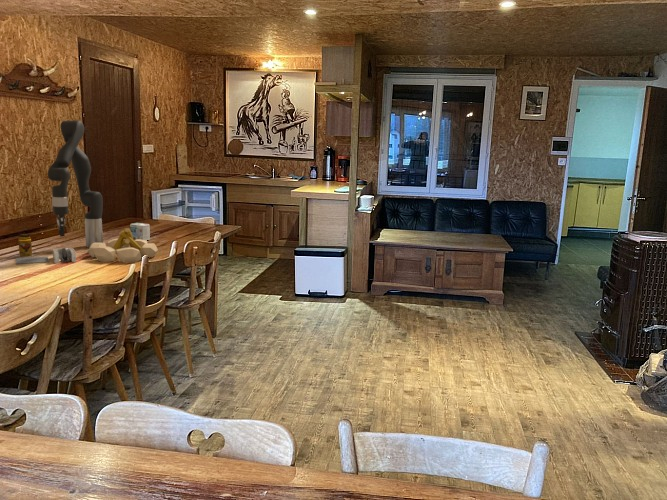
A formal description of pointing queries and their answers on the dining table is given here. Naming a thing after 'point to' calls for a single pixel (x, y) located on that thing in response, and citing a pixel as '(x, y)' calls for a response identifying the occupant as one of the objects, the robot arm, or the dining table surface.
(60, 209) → the robot arm
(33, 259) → the mat
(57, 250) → the c link
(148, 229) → the light bulb box
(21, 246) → the condiment
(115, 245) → the campfire
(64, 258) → the peg stand
